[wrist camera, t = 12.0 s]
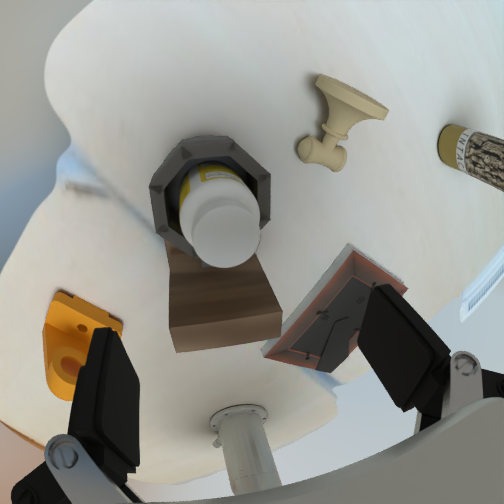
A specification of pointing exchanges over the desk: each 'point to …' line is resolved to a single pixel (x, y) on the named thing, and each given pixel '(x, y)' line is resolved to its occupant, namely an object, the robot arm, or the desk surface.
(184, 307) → the cup bracket
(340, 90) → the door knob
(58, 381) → the bracket
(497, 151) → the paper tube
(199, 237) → the supplement bottle
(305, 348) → the picture frame
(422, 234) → the desk surface
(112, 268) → the desk surface
